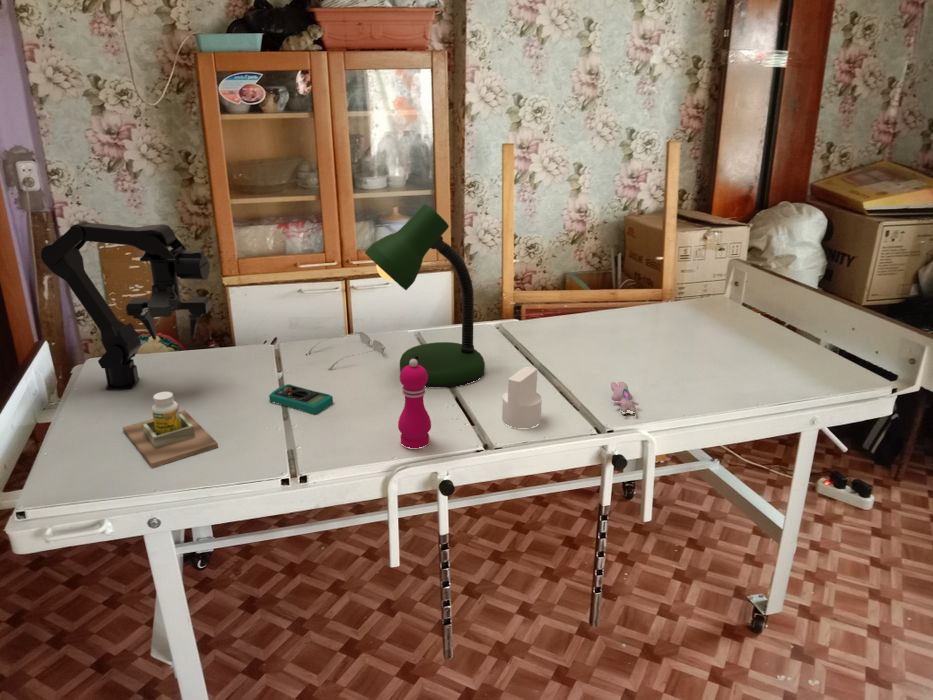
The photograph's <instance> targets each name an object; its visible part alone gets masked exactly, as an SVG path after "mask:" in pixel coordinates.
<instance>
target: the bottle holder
mask: <svg viewBox="0 0 933 700" xmlns="http://www.w3.org/2000/svg"><path fill="white" fill-rule="evenodd" d="M179 415H180V421H181V428H182V429H179V430H175V431H172V432H168V433H165V434H161V435H158V436H156V431H155V425H154V419H153V418H152V419H148V420H147V419H146V420H144V421H141V422H138V423H137V422H136V423H134V424H133V423H132V424H130V425H126V426H123V427H122V429H123V430H122V431H123V433H124V434H125V435H126V436H127V438H128V439H129V440H130V442H131V443H132V444H133V446H134V447H135V446H136V447H135V448H136V449H137V450H138V452H139V453H140V455H141V456H142V457H143V458H144V460H145V461H146V462H147V463H148V464H149V466H150V465H151V466H150V467H151V468H152V467H153V468H155V466H156V467H158V465H160V466H162V465H161V464H163V465H165V463H166V464H169V463H172V462H175V460H176V461H179V460H182V459H185V458H188V456H189V457H191V455H192V456H195V455H198V454H201V453H204V452H203V451H205V452H208V451H211V450H214V449H217V448H219V444H218V441H216V440H215V439H214V438H213V437H212V436H211V435H210V434H209V433H208V432H207V431H206V429H204V428H203V427H202V425H200V424H199V423H198V422H197V421H196V419H194V418H193V417H192V416H191V415H190V414H189V413H188V411H186V410H179ZM213 448H214V449H213ZM210 449H211V450H210ZM207 450H208V451H207ZM200 452H201V453H200ZM194 454H195V455H194ZM184 457H185V458H184ZM181 458H182V459H181ZM178 459H179V460H178ZM171 461H172V462H171ZM168 462H169V463H168Z"/></svg>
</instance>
